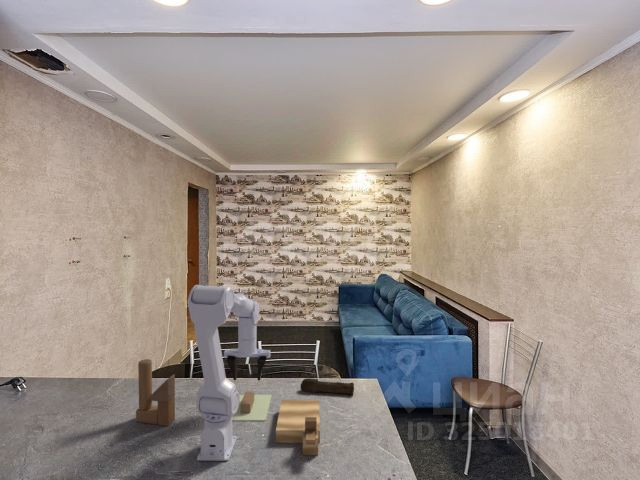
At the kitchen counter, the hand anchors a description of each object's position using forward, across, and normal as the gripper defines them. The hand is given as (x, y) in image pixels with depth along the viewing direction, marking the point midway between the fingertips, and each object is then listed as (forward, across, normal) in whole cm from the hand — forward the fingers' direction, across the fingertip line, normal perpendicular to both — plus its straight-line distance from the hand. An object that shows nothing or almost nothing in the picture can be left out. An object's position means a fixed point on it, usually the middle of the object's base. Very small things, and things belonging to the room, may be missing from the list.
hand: (247, 379), depth 112 cm
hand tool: (+10, -26, -10) cm, 30 cm away
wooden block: (+10, +26, +8) cm, 29 cm away
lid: (+10, -1, 0) cm, 10 cm away
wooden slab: (+9, -17, +12) cm, 23 cm away
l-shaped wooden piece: (+5, -21, +23) cm, 31 cm away
